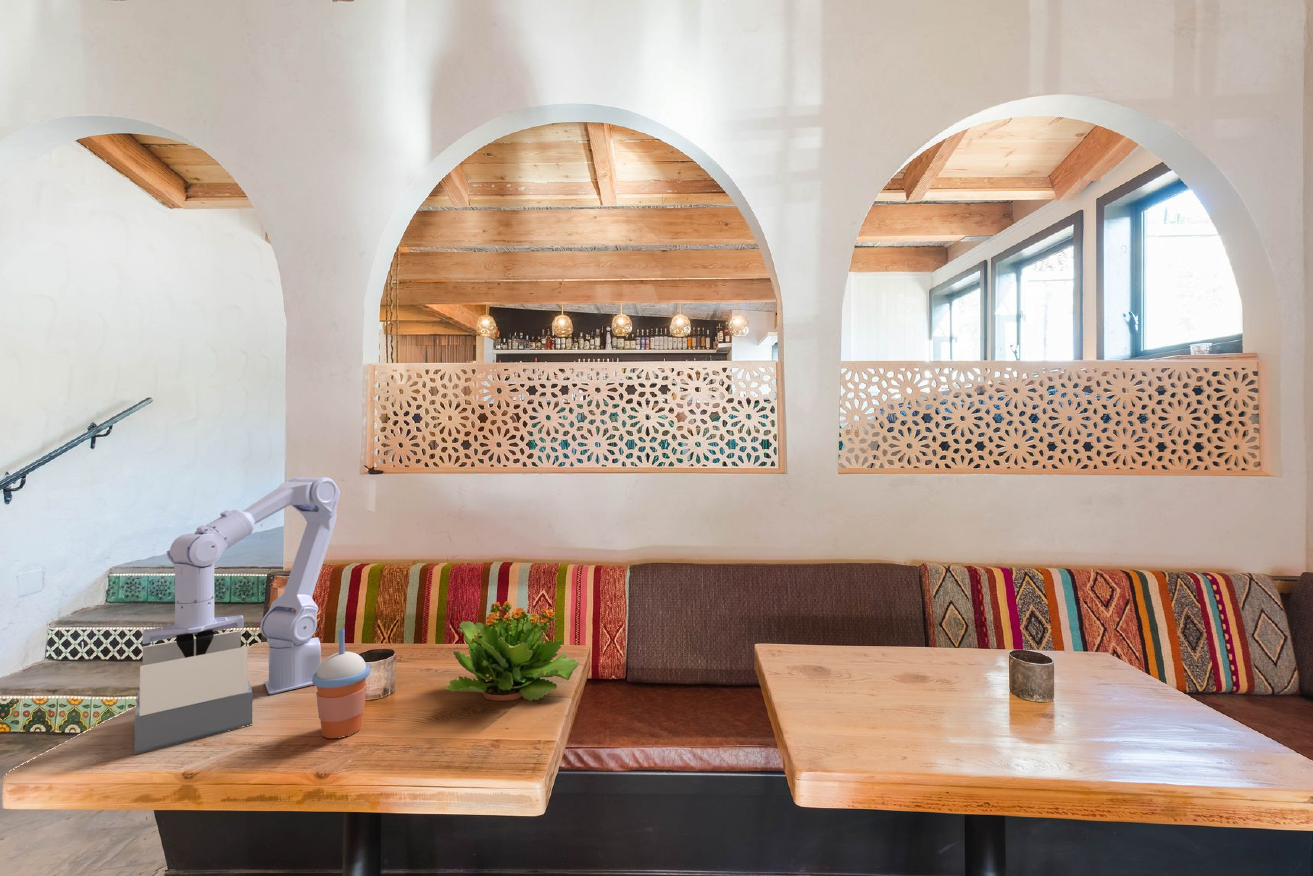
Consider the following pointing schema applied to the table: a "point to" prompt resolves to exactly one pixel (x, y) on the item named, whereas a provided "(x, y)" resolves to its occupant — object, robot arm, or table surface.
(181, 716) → the carton
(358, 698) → the cup with straw
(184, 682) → the front flap
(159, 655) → the back flap
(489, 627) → the potted flower
